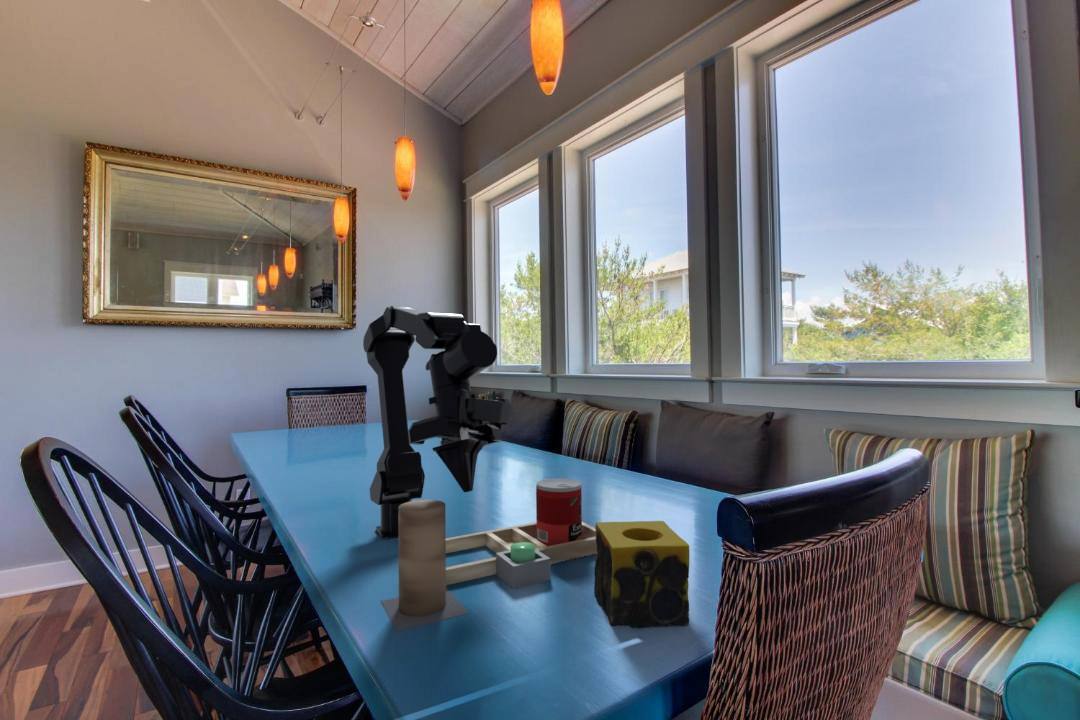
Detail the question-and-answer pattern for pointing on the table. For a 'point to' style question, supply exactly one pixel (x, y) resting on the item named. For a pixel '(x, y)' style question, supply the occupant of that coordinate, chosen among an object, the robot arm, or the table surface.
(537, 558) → the grey square box
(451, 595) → the rubber mat
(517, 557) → the button
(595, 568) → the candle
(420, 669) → the table surface
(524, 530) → the birch frame
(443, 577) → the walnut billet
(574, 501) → the canned food
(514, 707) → the table surface
